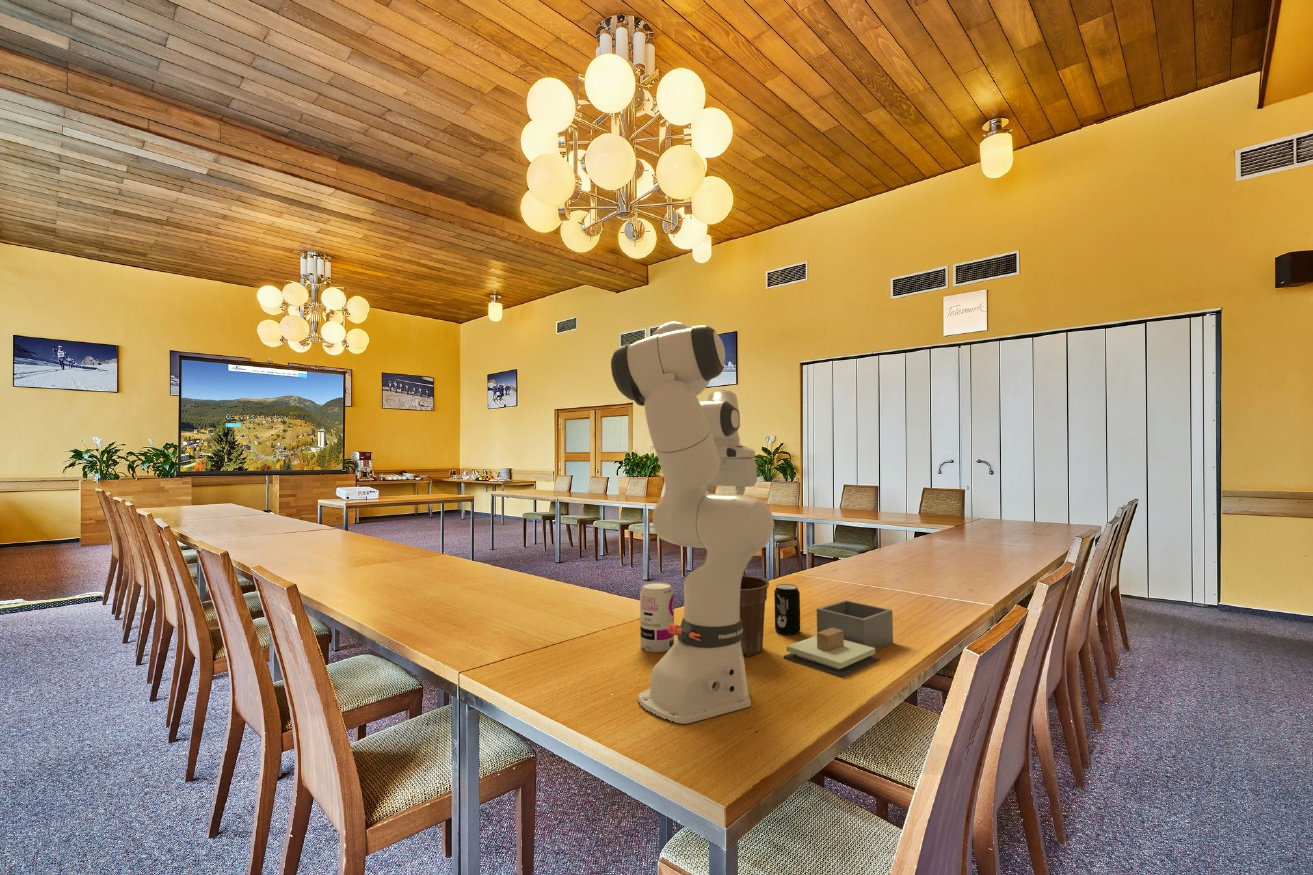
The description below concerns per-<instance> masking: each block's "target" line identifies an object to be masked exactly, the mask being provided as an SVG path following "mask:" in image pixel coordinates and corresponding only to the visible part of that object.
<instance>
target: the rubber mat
mask: <svg viewBox="0 0 1313 875" xmlns="http://www.w3.org/2000/svg"><path fill="white" fill-rule="evenodd" d="M783 659H786V660H789V661H792V662H794V663H797V664H800V665H804V666H807V667H809V668H812V669H816V670H819V671H822V672H825V673H828V674H830V675H834V676H837V677H840V678H843V677H846V676H848V675H850V674H852V673H854V672H855V673H856V672H857V671H858V670H860V669H862V668H866V667H868V666H870V665H872V664H874V663H876V662H878V661H880V658H879V657H878V656H877V657H876V656H872V655H871V656H869V657H866V658H864V659H862V660H859V661H857V662H855V663H853V664H850V665H848V666H846V667H843V668H841V669H835V668H832V667H829V666H826V665H823V664H820V663H817V662H814V661H810V660H807V659H804V658H801V657H798V656H797V655H796V654H793V653H790V652H789V653H788V654H785V655H783Z"/></svg>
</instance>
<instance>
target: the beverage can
mask: <svg viewBox="0 0 1313 875" xmlns="http://www.w3.org/2000/svg"><path fill="white" fill-rule="evenodd" d="M798 588H799V587H798V585H795V584H793V583H779V584H776V585H775V589H774V591H773V593H774V594H773V597H774V629H775V631H776V632H777V633H778V634H780V635H785V636H794V635H798V634H799V633H800V631H801V596H800V595H801V592H800V591H799V589H798Z"/></svg>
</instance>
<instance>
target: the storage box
mask: <svg viewBox="0 0 1313 875" xmlns="http://www.w3.org/2000/svg"><path fill="white" fill-rule="evenodd" d="M893 624H894V621H893V609H888V608H885V607H880V606H876V605H875V606H874V605H870V604H865V603H862V602H861V603H860V602H857V601H852V600H851V601H850V600H847V599H845V600H841V601H839V602H835V603H831V604H829V605H825V606H821V607H818V608H816V634H817V633H818V632H821V631H824V630H826V629H829V628H836V629H839V630H843V634H844V640H847V641H851V642H854V643H858V644H862V645H865V646H869V647H873V648H875V651H877V650H879V649H882V648H884V647H886V645H887V646H889V645H891V644H893V643H894V625H893Z"/></svg>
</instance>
